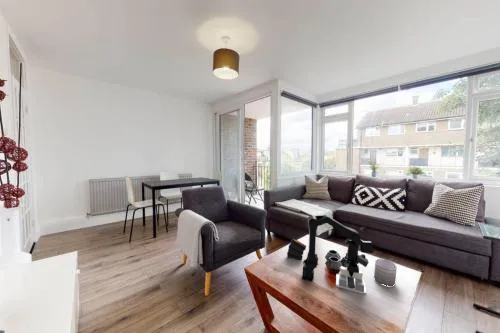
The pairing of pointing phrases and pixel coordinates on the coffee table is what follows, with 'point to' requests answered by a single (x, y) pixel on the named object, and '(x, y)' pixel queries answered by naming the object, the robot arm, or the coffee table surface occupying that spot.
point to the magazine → (296, 250)
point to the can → (385, 272)
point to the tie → (355, 275)
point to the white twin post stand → (343, 283)
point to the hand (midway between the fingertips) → (350, 275)
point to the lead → (351, 282)
